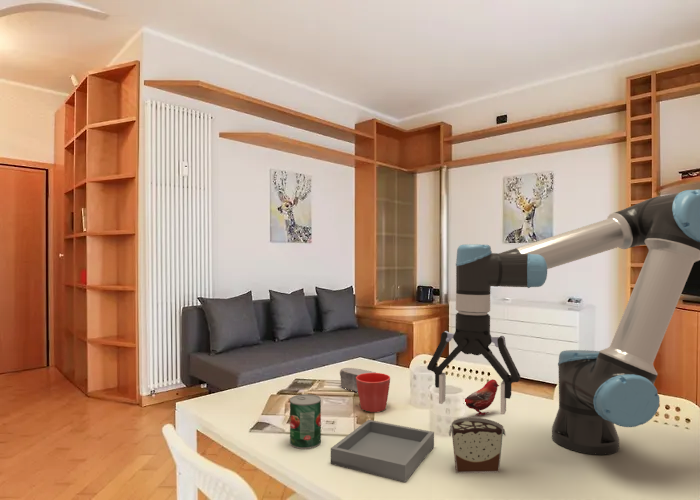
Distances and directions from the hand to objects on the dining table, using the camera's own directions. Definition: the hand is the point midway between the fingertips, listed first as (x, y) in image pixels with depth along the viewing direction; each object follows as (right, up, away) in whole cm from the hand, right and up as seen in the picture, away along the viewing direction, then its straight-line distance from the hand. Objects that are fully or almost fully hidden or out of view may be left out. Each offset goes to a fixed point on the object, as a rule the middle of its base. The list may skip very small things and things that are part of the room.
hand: (471, 407), depth 101 cm
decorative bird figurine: (+10, -14, +31) cm, 35 cm away
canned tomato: (-39, -14, +13) cm, 43 cm away
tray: (-19, -13, +6) cm, 24 cm away
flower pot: (-20, -14, +38) cm, 45 cm away
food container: (0, -13, 0) cm, 13 cm away
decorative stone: (-24, -14, +57) cm, 64 cm away
